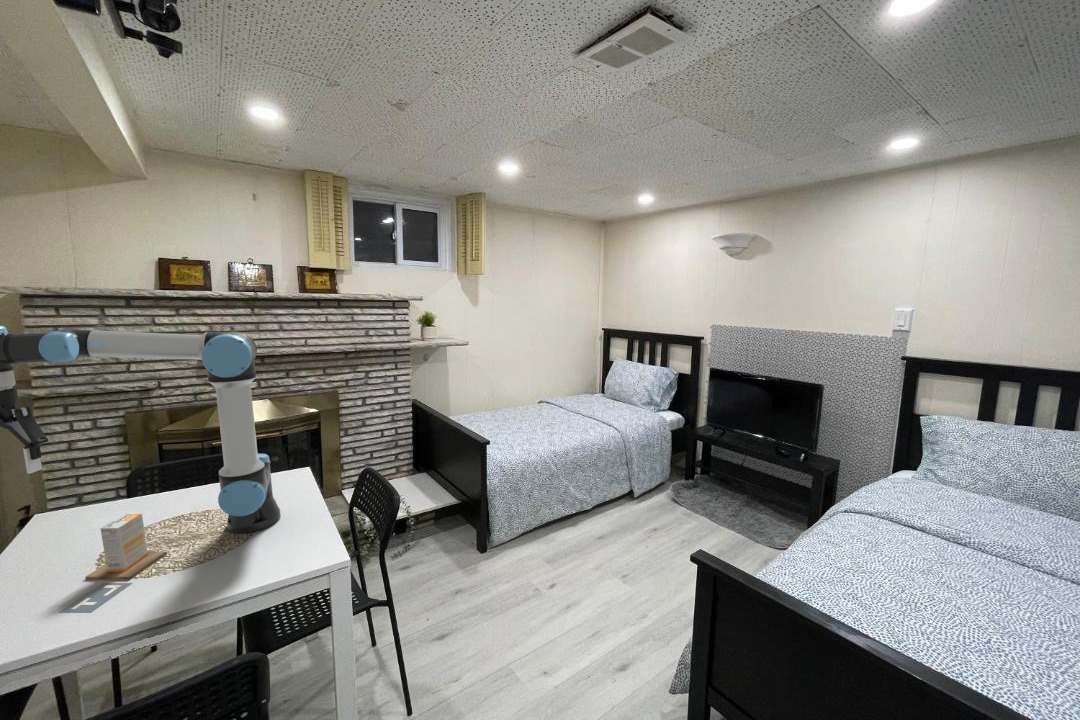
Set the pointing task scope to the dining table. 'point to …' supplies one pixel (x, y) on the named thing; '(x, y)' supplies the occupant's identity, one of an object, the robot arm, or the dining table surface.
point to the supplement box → (124, 542)
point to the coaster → (129, 573)
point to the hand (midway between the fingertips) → (7, 471)
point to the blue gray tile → (96, 597)
